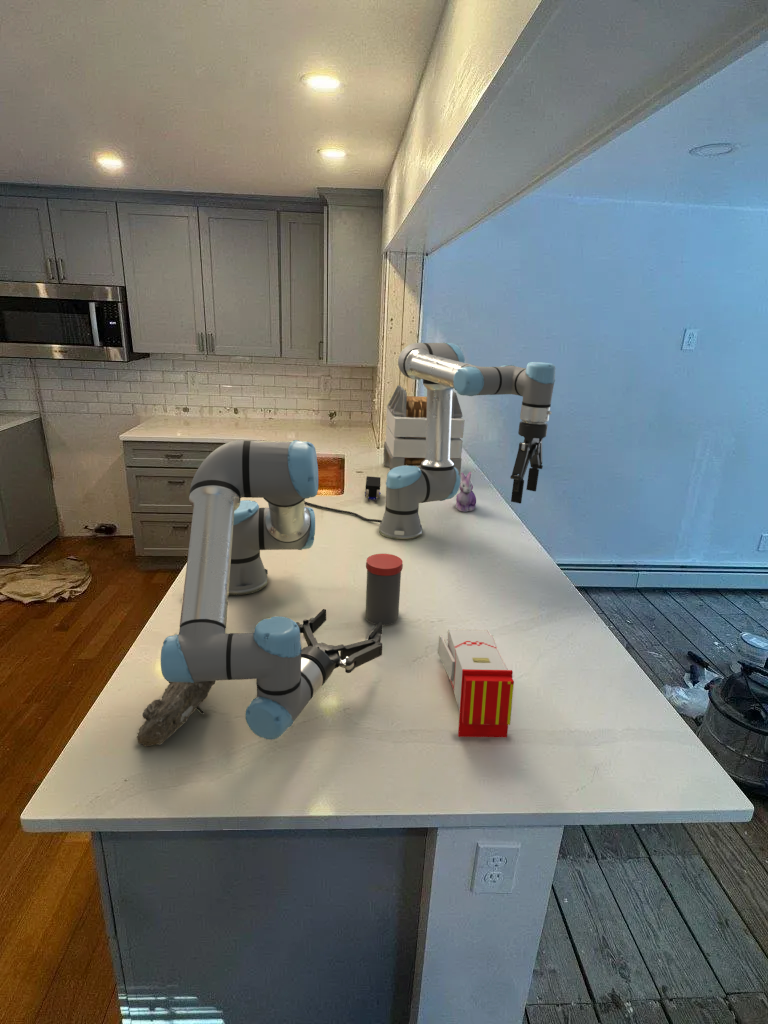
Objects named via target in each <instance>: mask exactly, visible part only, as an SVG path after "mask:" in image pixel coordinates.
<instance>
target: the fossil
mask: <svg viewBox="0 0 768 1024" xmlns="http://www.w3.org/2000/svg"><path fill="white" fill-rule="evenodd" d="M216 682H217V681H203V682H194V683H191V682H169V681H168V683H169V684H168V685H167V687H166V688H165V689H164V690H165V691H163V693H162V695H161V699H154V700H152V702H151V703H149V704H148V705H147V706H146V708H144V709H143V712H142V716H141V717H142V718H143V719H145V721H144V722H143V724H142V725H141V726H140V727H139V728H138V732H137V734H136V735H137V736H136V739H137V742H138V744H140V745H141V744H142V745H143V746H144V747H150V746H151V747H152V746H156V745H159V746H160V745H162V744H163V743H164V742H165V741H167V740H168V739H169V738H170V737H171V736H172V735H174V734H175V732H176V731H177V730H178V729H179V728H181V727H182V726H183V725H184V724H185V723H187V720H188V719H190V715H192V714H194V712H195V711H196V710H197V711H198V712H199V713H200V714H201V715H203V714H205V712H204V710H203V709H202V708H200V706H199V705H200V703H203V702H204V701H205V700H206V699H207V698H208V695H209V693H210V691H211V689H212V687H213V686H214V685H215V684H216Z"/></svg>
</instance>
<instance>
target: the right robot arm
mask: <svg viewBox="0 0 768 1024" xmlns="http://www.w3.org/2000/svg"><path fill="white" fill-rule="evenodd" d="M397 366H398V368H399V371H400V373H401V374H402V375H403V376H404V377H406V378H409V379H411V380H415V381H420V380H422V385H423V386H424V388H426V397H427V416H426V456H425V460H423V461H422V462H421V466H411V465H410V466H407V465H404V466H398V467H395V468H393V469H391V470H390V469H389V470H388V472H387V475H386V479H385V504H384V505H385V507H384V508H385V509H384V513H383V515H382V519H375V518H367V517H364V516H362V515H360V514H359V513H356V512H353V511H349V510H343V509H337V508H332V507H328V506H323V505H319V504H316V503H311V502H308V501H305V500H304V505H307V506H310V507H314V508H317V509H322V510H326V511H331V512H336V513H341V514H346V515H347V514H348V515H351V516H355V517H357V518H359V519H361V520H363V521H365V522H370V523H379V526H378V533H379V534H380V535H381V536H382V537H385V538H387V539H389V540H395V541H410V540H415V539H418V538H420V537H421V536H422V535H423V525H422V524H421V518H420V515H419V507H420V506H419V505H420V504H423V503H431V502H442V501H443V502H444V501H446V500H450V499H452V498H454V497H455V496H457V495H458V493H459V490H460V488H459V487H460V483H461V474H460V475H458V474H459V472H458V470H457V469H456V468H455V467H454V463H453V462H452V461H451V460H450V441H451V414H452V392H453V390H455V391H456V394H458V395H460V396H466V397H475V396H497V395H502V396H503V395H515V396H519V397H522V401H521V408H520V413H519V414H520V415H519V419H520V421H519V424H518V431H517V432H518V435H519V436H520V437H523V438H524V439H523V441H522V442H521V441H520V442H519V444H518V449H517V454H516V457H515V461H514V465H513V469H512V473H511V474H510V476H509V477H510V479H511V480H513V483H512V490H511V497H510V502H511V503H516V504H522V501H523V500H522V499H523V494H524V493H523V492H524V487H525V486H524V485H525V479H524V478H525V474H526V472H527V469H528V475H527V482H526V490H525V491H531V492H537V488H538V482H539V481H538V480H539V473H540V470H543V467H544V465H543V439H545V438H547V434H548V428H549V424H548V423H547V422H549V420H550V416H551V415H552V414H553V413H552V411H551V405H552V399H553V393H554V386H555V382H556V366H555V364H553V363H551V362H541V361H531V362H528V363H527V364H526V367H520V366H516V365H512V364H510V365H509V364H504V365H501V366H479V365H474V364H470V363H467V362H466V358H465V355H464V352H463V350H462V349H461V347H459V345H457V344H455V343H451V342H449V343H448V342H413V343H410V344H408V345H406V346H405V347H404V348H403V349H402V350H401V351H400V353H399V356H398V359H397ZM529 465H530V467H529V468H528V466H529Z"/></svg>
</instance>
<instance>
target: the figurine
mask: <svg viewBox="0 0 768 1024" xmlns="http://www.w3.org/2000/svg"><path fill="white" fill-rule="evenodd" d="M471 478H472V471H469V472H467V474H466V475H465V474H464V472H462V471H461V474H460V487H459V490H460V491H459V492H458V493H457V494H456V502H455V508H456V509H457V511H460V512H464V513H465V512H466V513H467V512H471V511H474V510H475V509H476V505H477V497H476V494H475V493H474V491H473V490H474V485H473V482H472V480H471Z"/></svg>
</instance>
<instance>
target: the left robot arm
mask: <svg viewBox="0 0 768 1024" xmlns="http://www.w3.org/2000/svg"><path fill="white" fill-rule="evenodd" d="M193 475H194V476H193V478H192V480H191V484H190V487H189V495H188V503H189V504H190V505H191V506H192V507H193V509H192V517H191V526H190V532H189V533H190V535H189V543H188V551H187V559H186V566H185V567H186V568H185V578H184V584H183V594H182V602H181V611H180V620H179V630H178V633H175V634H174V635H167V637H165V639H164V640H163V643H162V647H161V652H160V671H161V674H162V677H163V678H164V680H165V681H167V682H168V683H169V682H191V683H194V682H203V681H216V682H217V681H238V680H256V681H255V685H256V695H255V697H254V698H253V699H252V700H251V701H250V703H249V705H248V706H247V707H246V710H245V713H244V717H245V721H246V724H247V726H248V728H249V729H250V731H251V732H252V733H253V734H255V735H256V736H258V737H259V738H262V739H264V740H268V741H272V740H277V739H279V738H280V737H282V735H283V734H285V732H286V731H287V730H288V729H290V728H291V727H292V726H293V724H294V722H295V721H296V720H297V719H298V717H299V716H300V715H301V713H302V712H303V711H304V710H305V708H306V707H307V705H308V704H309V703H310V701H311V700H312V699H313V698H314V697H315V695H317V693H318V691H319V690H320V689H321V688H322V686H324V684H325V683H326V682H327V681H328V679H329V678H330V677H331V675H332V673H333V672H334V670H335V669H338V668H342V669H344V672H345V673H346V674H350V673H352V672H353V671H354V670H355V669H356V668H358V667H360V666H363V665H364V664H366V663H369V662H370V661H373V660H375V659H377V658H379V657H381V656H382V655H383V647H384V646H383V642H382V635H383V627H384V625H383V623H381V622H379V623H378V625H376V626H375V627H374V628H373V630H372V631H371V632H370V634H369V635H368V636H367V639H366V640H362V641H358V642H355V643H350V644H347V645H344V644H338V645H333V644H328V643H325V642H318V640H317V638H316V637H315V635H314V633H316V631H318V629H319V628H320V627H321V626H322V625H323V624H324V623H325V622H326V621H327V609H325V608H323V609H322V610H320V611H319V612H318V613H317V614H316V615H315V616H314V617H310V618H309V619H306V618H305V619H303V620H302V623H300V622H298V621H296V620H295V621H294V620H293V619H291V618H289V617H287V616H277V615H276V616H275V615H274V616H271V617H270V618H264V619H262V620H260V621H259V622H257V624H256V625H255V627H254V631H253V632H233V633H231V632H230V633H226V629H227V622H228V621H227V619H228V606H229V596H245V595H250V594H254V593H256V592H259V591H261V590H262V589H264V588H265V587H266V586H267V584H268V572H269V571H268V569H266V568H265V566H264V562H263V560H262V558H261V551H280V550H281V551H286V550H287V551H291V550H292V551H293V550H295V551H296V550H297V551H302V550H309V549H311V548H312V547H313V545H314V543H315V535H316V515H315V514H316V513H315V511H314V509H313V508H312V507H308V506H305V504H304V501H305V500H307V499H309V498H314V497H316V496H317V495H318V492H319V466H318V455H317V451H316V447H315V445H314V444H313V443H312V442H310V441H306V440H305V441H303V440H298V439H294V440H245V439H238V440H231V441H229V442H226V443H224V444H222V445H220V446H218V447H216V449H214V450H213V451H212V452H210V454H208V455H207V456H206V457H205V458H204V459H203V460H202V462H201V464H200V465H199V467H198V468H197V469H196V472H195V473H194V474H193ZM242 498H247V499H244V500H241V499H242ZM249 498H250V499H258V498H259V499H260V498H261V499H262V498H263V499H264V501H265V502H267V504H268V507H260V505H259V503H258V502H257V501H254V500H249ZM301 634H302V635H303V638H304V640H305V643H306V646H305V647H302V642H301Z"/></svg>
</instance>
